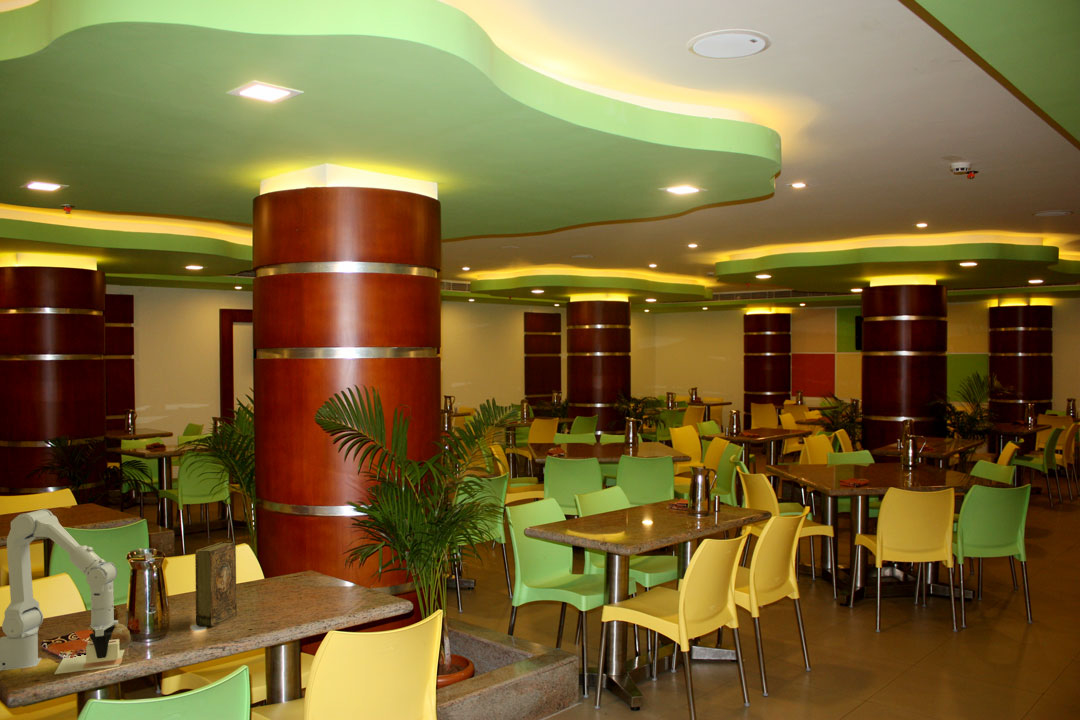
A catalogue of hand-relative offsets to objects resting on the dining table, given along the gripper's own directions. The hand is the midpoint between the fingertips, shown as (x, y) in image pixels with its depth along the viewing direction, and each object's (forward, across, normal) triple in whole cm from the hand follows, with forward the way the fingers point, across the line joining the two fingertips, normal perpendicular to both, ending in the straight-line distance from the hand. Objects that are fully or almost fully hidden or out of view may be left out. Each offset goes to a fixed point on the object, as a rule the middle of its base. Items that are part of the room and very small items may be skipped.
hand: (102, 655), depth 243 cm
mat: (+3, +4, +4) cm, 6 cm away
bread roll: (+3, +22, 0) cm, 22 cm away
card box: (+1, 0, 0) cm, 1 cm away
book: (+3, +36, -30) cm, 47 cm away
